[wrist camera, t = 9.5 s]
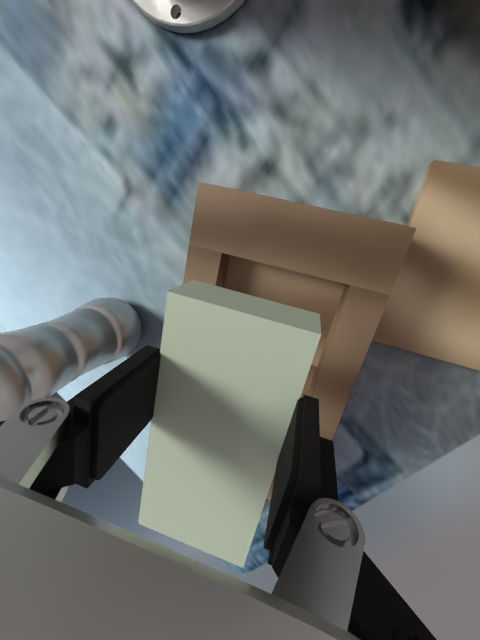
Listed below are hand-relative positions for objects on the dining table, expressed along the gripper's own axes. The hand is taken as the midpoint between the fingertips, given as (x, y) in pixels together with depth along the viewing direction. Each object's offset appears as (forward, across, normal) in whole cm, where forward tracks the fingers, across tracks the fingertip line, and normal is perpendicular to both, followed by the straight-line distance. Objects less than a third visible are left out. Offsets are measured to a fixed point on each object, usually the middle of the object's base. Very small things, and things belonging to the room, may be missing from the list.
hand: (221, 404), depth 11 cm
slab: (+2, 0, +2) cm, 3 cm away
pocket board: (+17, 0, +4) cm, 17 cm away
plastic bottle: (+17, +16, +7) cm, 24 cm away
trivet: (+17, -13, -6) cm, 22 cm away
